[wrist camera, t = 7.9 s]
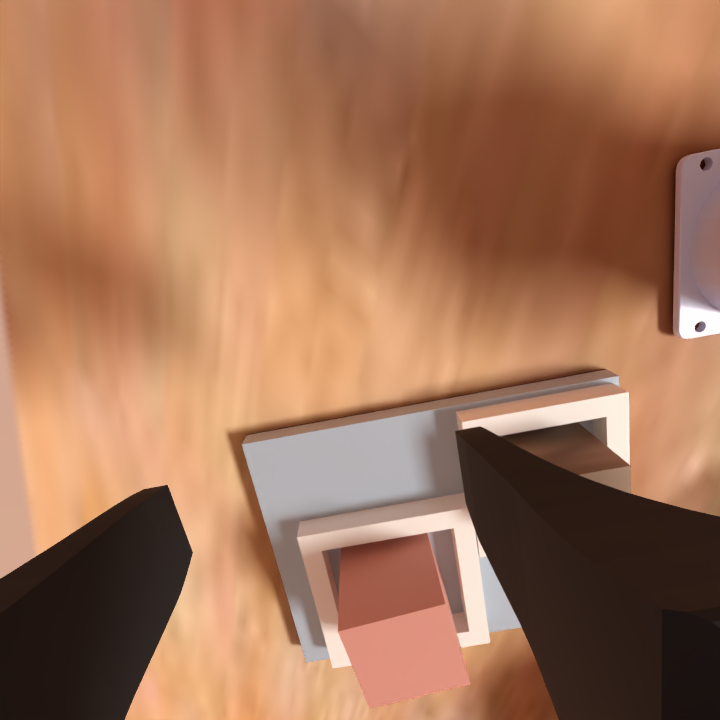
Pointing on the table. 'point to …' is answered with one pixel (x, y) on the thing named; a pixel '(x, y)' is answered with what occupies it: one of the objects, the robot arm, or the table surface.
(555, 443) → the walnut cube
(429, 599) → the brick-red block
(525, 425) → the board
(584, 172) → the table surface
